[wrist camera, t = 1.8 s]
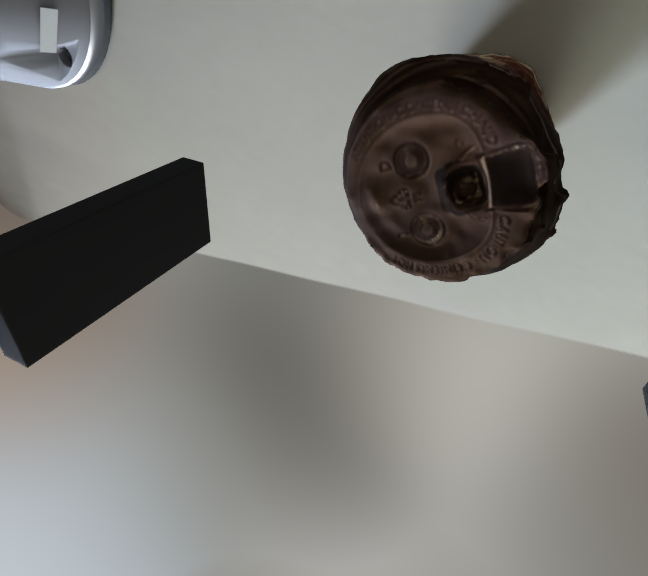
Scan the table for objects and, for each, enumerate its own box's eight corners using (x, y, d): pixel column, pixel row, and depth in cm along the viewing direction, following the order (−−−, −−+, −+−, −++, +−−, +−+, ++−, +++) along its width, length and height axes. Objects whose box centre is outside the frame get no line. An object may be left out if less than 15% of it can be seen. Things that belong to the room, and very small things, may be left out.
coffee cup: (611, 72, 21) (648, 142, 12) (515, 210, 27) (486, 336, 17) (451, 5, 23) (365, 17, 13) (391, 149, 28) (298, 234, 18)
